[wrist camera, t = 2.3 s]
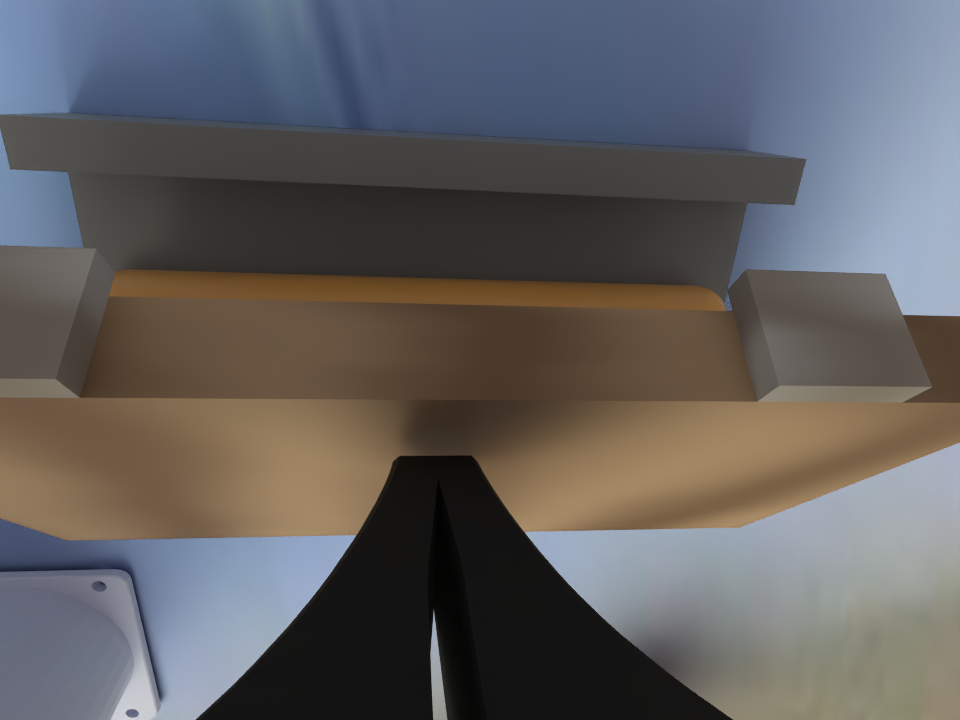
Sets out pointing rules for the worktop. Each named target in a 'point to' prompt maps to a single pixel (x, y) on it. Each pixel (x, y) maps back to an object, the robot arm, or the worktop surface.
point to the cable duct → (400, 212)
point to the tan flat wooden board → (451, 403)
